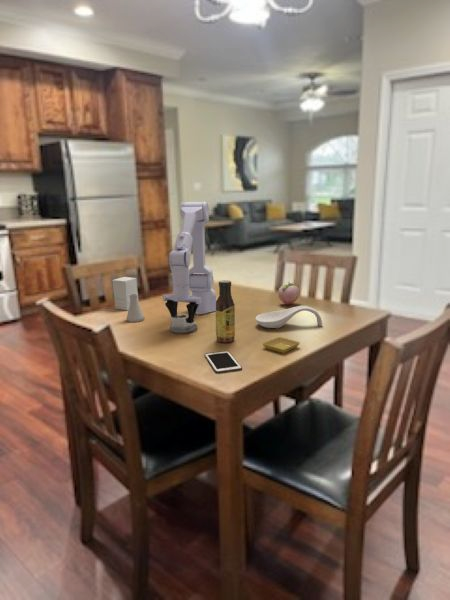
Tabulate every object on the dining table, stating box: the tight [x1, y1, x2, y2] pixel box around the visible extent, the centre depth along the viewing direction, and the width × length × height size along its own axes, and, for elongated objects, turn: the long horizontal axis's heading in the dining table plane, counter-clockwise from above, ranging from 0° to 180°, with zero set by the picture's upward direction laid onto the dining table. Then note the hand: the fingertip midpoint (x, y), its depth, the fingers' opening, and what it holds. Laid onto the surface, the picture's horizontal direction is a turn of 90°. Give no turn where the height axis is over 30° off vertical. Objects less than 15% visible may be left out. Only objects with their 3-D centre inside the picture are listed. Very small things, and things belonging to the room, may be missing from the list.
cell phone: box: [204, 350, 243, 374], centre depth 132 cm, size 8×15×1 cm, turn 16°
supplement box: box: [112, 276, 140, 311], centre depth 193 cm, size 7×7×13 cm
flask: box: [125, 293, 145, 323], centre depth 175 cm, size 7×7×10 cm
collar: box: [170, 313, 195, 330], centre depth 162 cm, size 6×6×4 cm
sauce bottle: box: [215, 279, 236, 344], centre depth 148 cm, size 6×6×20 cm
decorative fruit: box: [277, 282, 300, 306], centre depth 190 cm, size 9×8×10 cm
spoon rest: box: [255, 305, 323, 329], centre depth 163 cm, size 24×12×7 cm, turn 91°
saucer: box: [262, 336, 301, 354], centre depth 142 cm, size 9×9×2 cm
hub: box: [168, 317, 198, 335], centre depth 162 cm, size 10×10×4 cm
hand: (182, 321), depth 162 cm, fingers closed on collar, 6 cm apart
